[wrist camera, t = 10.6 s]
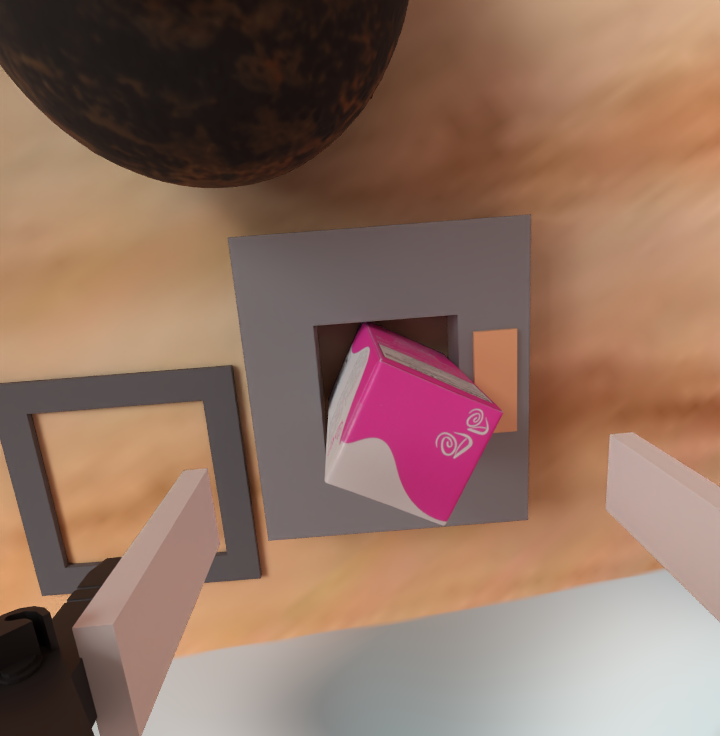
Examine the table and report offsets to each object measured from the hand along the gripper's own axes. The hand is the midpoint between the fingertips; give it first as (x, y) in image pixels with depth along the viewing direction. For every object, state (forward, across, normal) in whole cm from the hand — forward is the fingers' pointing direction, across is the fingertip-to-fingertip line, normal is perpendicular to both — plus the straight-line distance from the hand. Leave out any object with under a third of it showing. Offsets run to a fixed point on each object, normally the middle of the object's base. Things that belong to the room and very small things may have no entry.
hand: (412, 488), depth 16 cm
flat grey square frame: (+15, -16, -6) cm, 23 cm away
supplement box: (+15, +1, 0) cm, 15 cm away
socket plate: (+15, 0, 0) cm, 15 cm away
